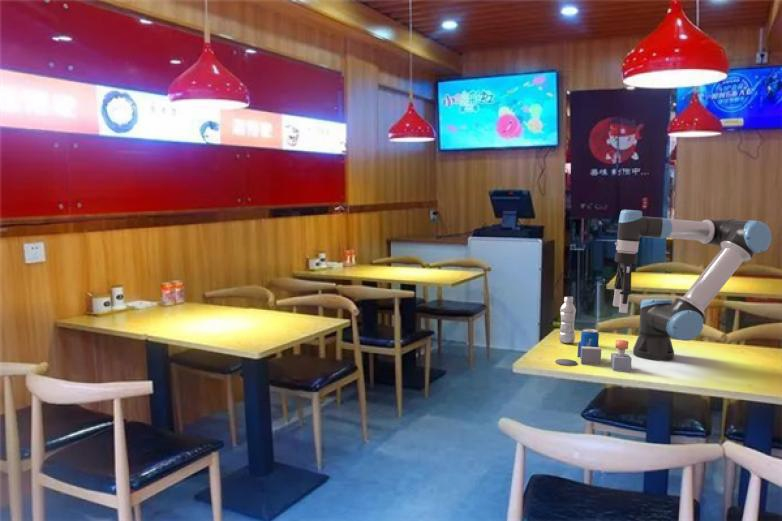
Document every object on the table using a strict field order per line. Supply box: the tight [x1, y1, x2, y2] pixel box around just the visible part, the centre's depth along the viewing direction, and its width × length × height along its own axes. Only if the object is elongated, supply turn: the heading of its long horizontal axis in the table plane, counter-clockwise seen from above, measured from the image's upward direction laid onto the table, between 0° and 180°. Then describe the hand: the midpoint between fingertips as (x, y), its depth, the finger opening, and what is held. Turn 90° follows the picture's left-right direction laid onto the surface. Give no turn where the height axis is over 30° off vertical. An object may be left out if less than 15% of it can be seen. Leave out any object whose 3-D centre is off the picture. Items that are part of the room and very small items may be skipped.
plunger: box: [614, 339, 629, 357], centre depth 226 cm, size 4×4×7 cm
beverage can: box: [579, 328, 600, 360], centre depth 236 cm, size 6×6×12 cm
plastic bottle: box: [558, 296, 577, 344], centre depth 263 cm, size 6×7×20 cm
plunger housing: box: [610, 352, 632, 373], centre depth 226 cm, size 6×6×5 cm
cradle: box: [576, 339, 602, 366], centre depth 236 cm, size 7×11×6 cm, turn 171°
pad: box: [554, 358, 578, 367], centre depth 233 cm, size 8×8×1 cm
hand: (619, 309), depth 225 cm, fingers open, 13 cm apart
